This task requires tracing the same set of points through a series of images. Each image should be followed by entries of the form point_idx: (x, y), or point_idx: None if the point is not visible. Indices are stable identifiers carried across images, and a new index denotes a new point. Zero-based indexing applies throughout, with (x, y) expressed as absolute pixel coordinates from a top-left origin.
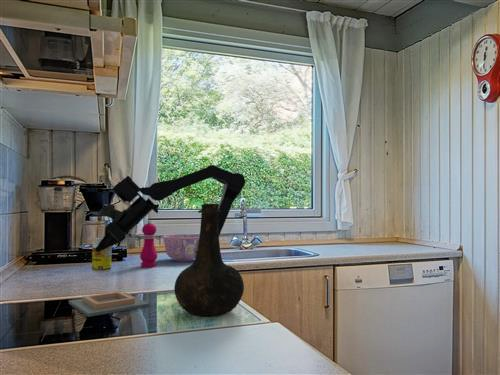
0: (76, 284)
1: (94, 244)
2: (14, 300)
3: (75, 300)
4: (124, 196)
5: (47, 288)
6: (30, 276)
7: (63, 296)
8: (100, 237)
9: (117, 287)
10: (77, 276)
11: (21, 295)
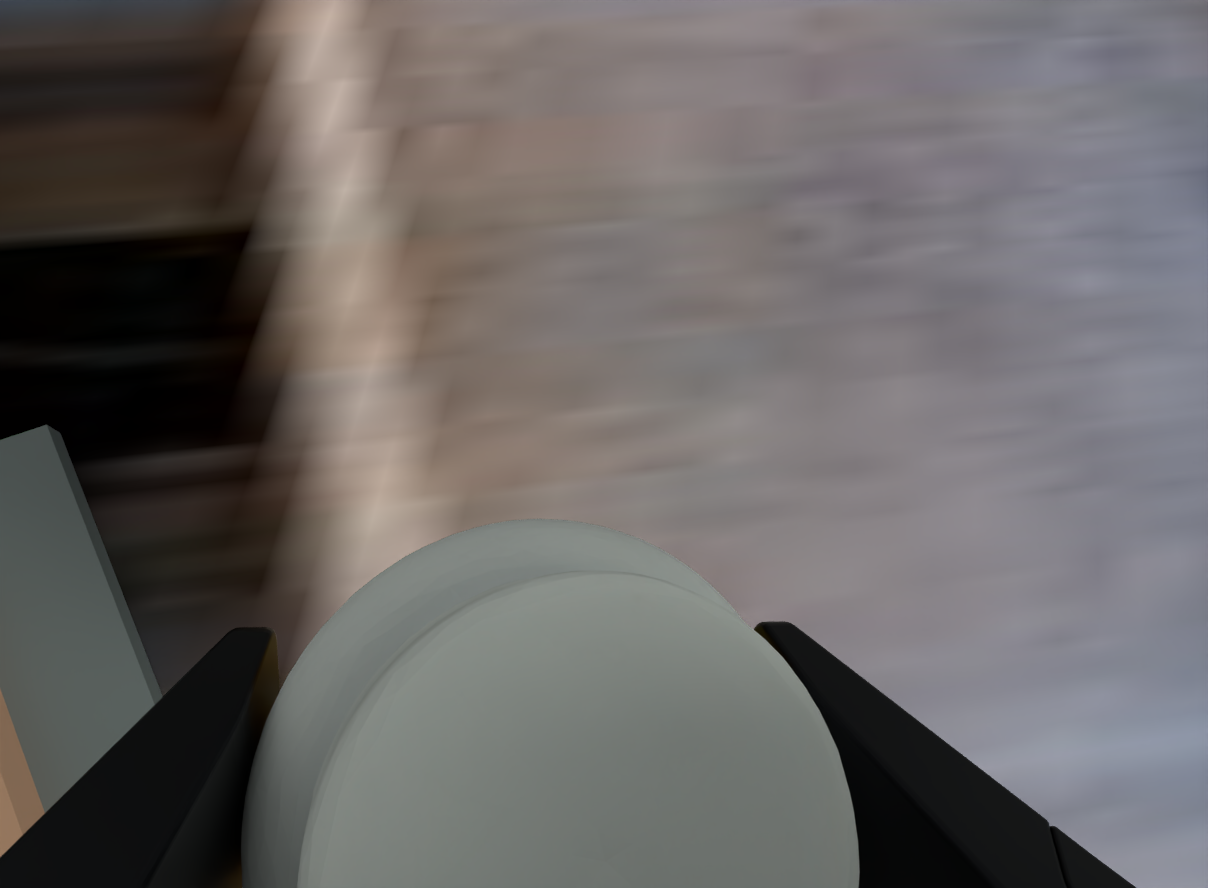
0: (888, 412)
1: (506, 572)
2: (354, 18)
3: (13, 491)
4: None
5: (754, 204)
6: (1166, 67)
7: (405, 355)
8: (795, 749)
9: None
10: (1193, 385)
11: (527, 51)
